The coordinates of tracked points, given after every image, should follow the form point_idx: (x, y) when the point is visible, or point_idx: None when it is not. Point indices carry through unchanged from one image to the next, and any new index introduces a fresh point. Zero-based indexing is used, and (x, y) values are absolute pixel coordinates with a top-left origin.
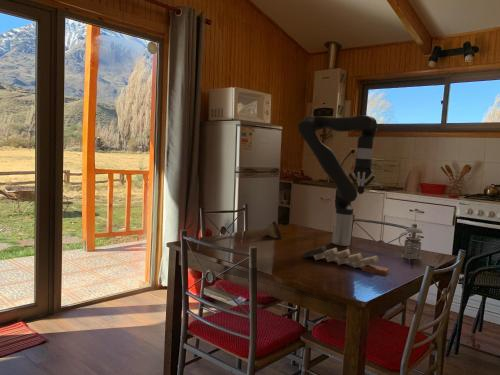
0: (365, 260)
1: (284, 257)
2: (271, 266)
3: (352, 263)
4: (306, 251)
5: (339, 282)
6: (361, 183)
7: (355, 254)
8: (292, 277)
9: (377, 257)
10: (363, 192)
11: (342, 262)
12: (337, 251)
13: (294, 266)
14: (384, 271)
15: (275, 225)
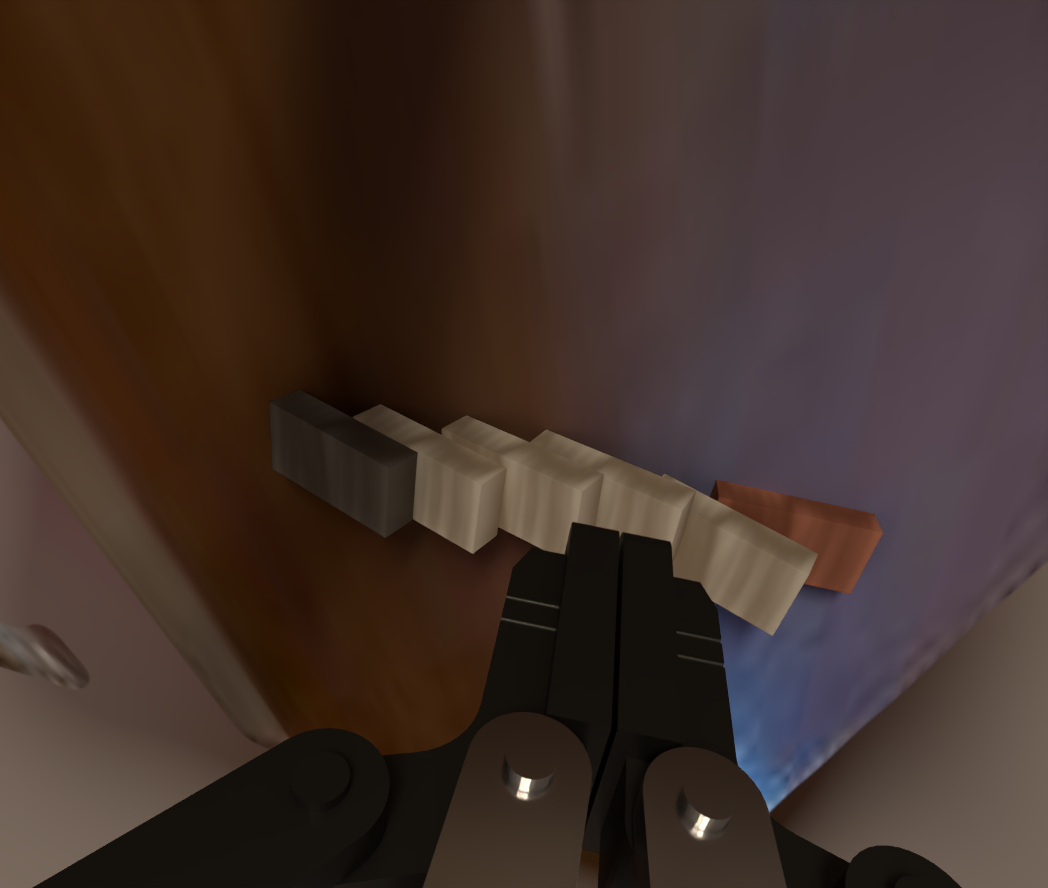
0: (716, 599)
1: (198, 496)
2: (237, 665)
3: None
4: (274, 420)
5: None
6: (582, 839)
7: (642, 517)
8: (384, 754)
9: (810, 569)
10: (700, 608)
11: None
12: (500, 478)
13: (325, 624)
14: (839, 587)
15: None
